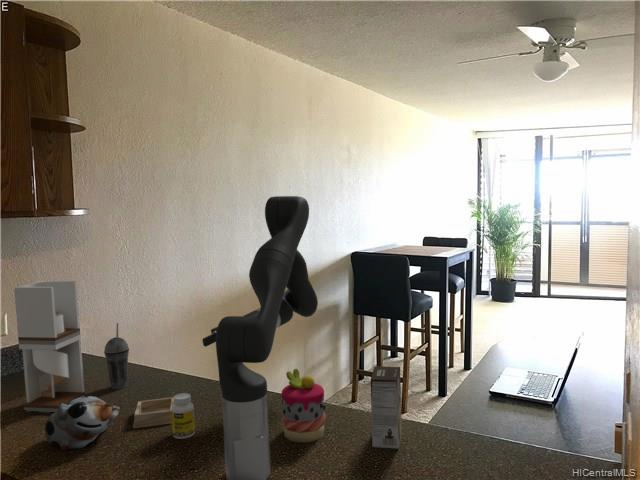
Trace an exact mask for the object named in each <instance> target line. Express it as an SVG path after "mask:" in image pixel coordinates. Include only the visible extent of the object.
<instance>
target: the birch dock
mask: <svg viewBox="0 0 640 480" xmlns="http://www.w3.org/2000/svg"><path fill="white" fill-rule="evenodd" d="M174 404H175V403H174V396H173V397H171V396H169V397H163V398H154V399H153V398H152V399H146V400H138V401H137V405H136V409H135V412H134V416H133V417H134V418H133V419H134V421H133V425H132V429H138V428H147V427H154V426H161V425H170V424H171V425H172V416H171V408H172V406H173V405H174Z"/></svg>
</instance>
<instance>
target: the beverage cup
mask: <svg viewBox="0 0 640 480" xmlns="http://www.w3.org/2000/svg"><path fill="white" fill-rule="evenodd" d="M115 335H116V337H112V338H110V339H109V340H108V341H107V342H106V344H105V345H104V352H103V354H104V356H105V359H106V364H107V370H108V378H109V383H110V388H111V389H112V390H115V389H117V390H122V389H125V388H127V386H128V371H129V370H128V367H129V365H128V364H129V362H128V360H129V359H128V357H129V353H130V348H129V345H128V343H127V341H126V340H125V339H124V338H123V337H119V322H116V334H115Z"/></svg>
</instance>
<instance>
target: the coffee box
mask: <svg viewBox="0 0 640 480" xmlns="http://www.w3.org/2000/svg"><path fill="white" fill-rule="evenodd" d="M401 385H402V384H401V366H374V367H373V369H372V374H371V377H370V398H371V399H370V404H371V405H370V407H371V408H370V409H371V410H370V411H371V440H372V441H371V445H372V447H373V448H382V449H383V448H384V449H397V450H398V449H400V445H401V438H402V432H403V431H402V399H401V398H402V393H401V392H402V391H401V387H402V386H401Z"/></svg>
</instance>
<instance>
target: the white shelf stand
mask: <svg viewBox="0 0 640 480" xmlns="http://www.w3.org/2000/svg"><path fill="white" fill-rule="evenodd" d="M13 291H14V304H15V314H16V315H15V318H16V326H17V327H16V328H17V337H18V340H17V341H18V349H19V350H22V359H23V362H22V363H23V373H24V374H23V375H24V385H25V395H26V396H25V397H26V399H25V400H26V402H25V403H24V404H23V411H24V410H27V411H26V412H30V411H39V412H38V413H50V412H57V411H58V409H59V407H60V405H61V404H62V403H64V404H66V405H67V404H68V403H69V402H70V401H72V400H74V399H77V398H80V397H86V396H85V395H86V394H85V382H84V381H85V379H84V367H83V353H82V341H81V340H82V339H81V324H80V312H79V299H78V295H79V294H78V284H77V280H41V281H36V282H32V283H28V284H23V285H19V286H15V287H13Z"/></svg>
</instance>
